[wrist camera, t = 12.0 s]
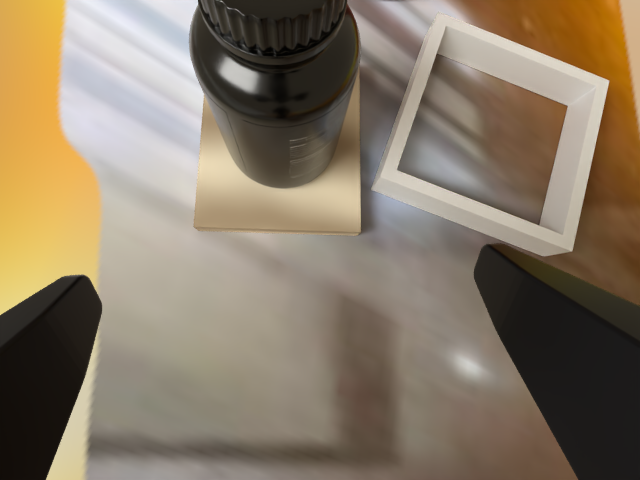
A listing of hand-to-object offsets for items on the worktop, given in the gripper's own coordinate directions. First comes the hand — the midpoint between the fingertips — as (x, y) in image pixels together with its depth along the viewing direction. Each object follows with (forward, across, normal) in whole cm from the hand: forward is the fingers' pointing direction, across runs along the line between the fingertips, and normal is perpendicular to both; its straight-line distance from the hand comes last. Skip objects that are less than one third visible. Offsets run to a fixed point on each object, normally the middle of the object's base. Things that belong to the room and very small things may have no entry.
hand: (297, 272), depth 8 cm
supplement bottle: (+16, 0, +2) cm, 16 cm away
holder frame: (+16, -14, +3) cm, 22 cm away
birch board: (+16, 0, +3) cm, 17 cm away
